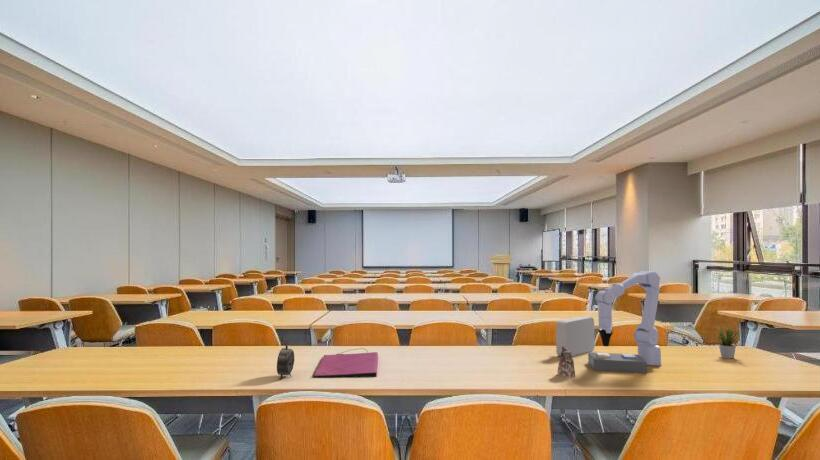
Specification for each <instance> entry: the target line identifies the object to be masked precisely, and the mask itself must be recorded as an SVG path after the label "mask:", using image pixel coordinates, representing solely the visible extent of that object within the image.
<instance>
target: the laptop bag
mask: <svg viewBox="0 0 820 460" xmlns="http://www.w3.org/2000/svg"><path fill="white" fill-rule="evenodd" d="M360 349H361V350H362V349H363V350H366V352H361V353H360V352H359V353H346V352H347V350H346V351H341V352H339V353H336V354H324V355H323V356H322V359H321V360H320V361H319V364H318V365H317V367H316V370H315V371H314V373H313V376H312V379H327V378H328V379H329V378H331V379H332V378H333V379H334V378H336V379H337V378H377V376H378V364H379V356H378V355H379V353H378V352H376V351H375V352H368V350H367V349H365V348H359V350H360ZM355 350H357V348H354V349H353V351H355ZM349 351H351V349H349V350H348V352H349ZM344 353H345V354H344Z"/></svg>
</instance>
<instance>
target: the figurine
mask: <svg viewBox="0 0 820 460" xmlns="http://www.w3.org/2000/svg"><path fill="white" fill-rule="evenodd" d="M575 371H576V370H575V362H574V359H573V357H572V355H571V350H570V349H569V348H564V347H562V351H561V356H560V358H559V360H558V366H557V376H559V377H560V378H566V379H572V378H574V377H576V372H575Z"/></svg>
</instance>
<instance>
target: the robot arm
mask: <svg viewBox="0 0 820 460" xmlns="http://www.w3.org/2000/svg"><path fill="white" fill-rule="evenodd" d="M660 281H661V277H660V276H659V274H658V273H657V272H656V271H647V270H646V271H645V270H644V271H643V270H637V271H636V272H633V273H632V275H630V276H629V277H628V278H626V279H624V281H622V282H620V283H619V282H613V283H612V285H610V286H609V287H605V288H604V290H599V291H598V292H597V293H596V295H595V297H594V299H595V301H596V302H597V311H598V312H597V313H598V314H597V315H598V325H595V328H597V329H598V331H597V332H599V335H600V337H601V343H602V346H603V347H609V345H610V341H611V337H612V335H613V334H614V333H613V331H612V329H613V319H612V317H613V315H612V314H613V313H612V304H613V303H614V301H615V299H617V298H618V297H620V296H622V295H624V294H625V290H627V289H629V288H631V287H633V286H635V285H637V284H638V285H639V286H641V287H642V288H643V289H644V290H645V298H644V304H643V308H642V309H643V310H642V317H641V323H639V324H638V325H636V329H635V331H634V333H633V338H634V340H635V341H636V344H637V355H639V356H640V357H641V358H642V359H644V360H645V361H646V362H647V366H659V367H662V366H663V365H662V355H661V354H662V351H661V347H660V345H657V344H658V342H659V334H658V333H659V329H657V327H656V326H655V322H656V315H657V310H658V303H659V297H660V291H661V290H660V288H661V287H660Z"/></svg>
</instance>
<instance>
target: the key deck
mask: <svg viewBox="0 0 820 460" xmlns="http://www.w3.org/2000/svg"><path fill="white" fill-rule="evenodd" d="M597 353H598V352H594V351H593V352H592V351H591V352H587V354H588V355H587V356H588V357H587V358H588V359H587V360H588V364H589V366H590V367H591V369H592V370H593V371H596V372H612V373H614V372H615V373H630V374H646V375H647V374H648V365H647V362H646V361H645V360H644V359H642V358H641V357H640V356H639V355H638V354H632V355H635V356H636V359H623V358H622V354H623V353H610V352H607V353H608V354H609V355H610V358H599V357H597Z"/></svg>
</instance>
